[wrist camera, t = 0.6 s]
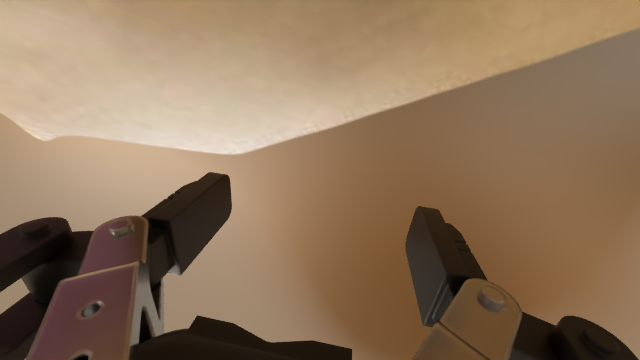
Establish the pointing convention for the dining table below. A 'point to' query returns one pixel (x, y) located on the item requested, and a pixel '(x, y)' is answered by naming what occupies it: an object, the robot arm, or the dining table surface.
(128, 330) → the robot arm
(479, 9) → the dining table surface
